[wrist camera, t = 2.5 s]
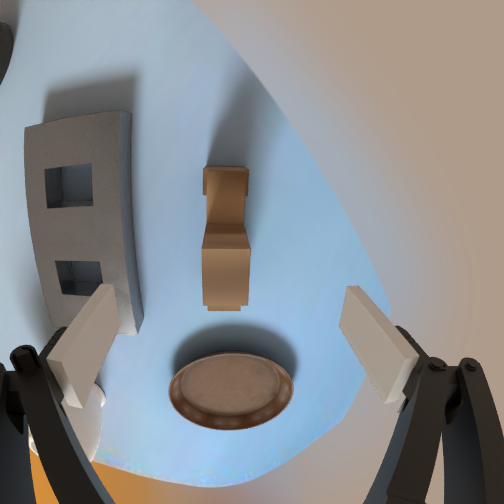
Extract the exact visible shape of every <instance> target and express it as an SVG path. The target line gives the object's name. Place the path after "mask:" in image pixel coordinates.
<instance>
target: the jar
mask: <svg viewBox="0 0 504 504" xmlns="http://www.w3.org/2000/svg"><path fill="white" fill-rule="evenodd" d="M105 401H106V398H105V395H104V393H103V391H102V390H101V388H100V387H99V386H98V385H96V384H95V383H94V384H93V387H92V389H91V391H90V394H89V396H88V398H87V401H86V403H85V406H84V408H83V409H82V408H77V407H73V406H69V405H68V403H67V401H66V399H65V397H64V398H63V400H62V402H61V404H62V405H63V407H64V409H65V412H66V414H67V417H68V419H69V421H70V423H71V426H72V428H73V430H74V432H75V434H76V436H77V438H78V440H79V442H80V444H81V446H82V448H83V450H84V452H85V454H86V456H87V458H88V460H89V462H91V461H92V459H93V458H94V456H95V454H96V451H97V449H98V446H99V442H100V437H101V425H102V417H103V414H102V406H103V405H104V404H105ZM29 447H30V448H31V450H33V452H34V453H35V454H37V455H38V452H37V449H36V446H35V443H34V440H33V437H32V434H31V433H30V434H29ZM38 456H39V455H38Z"/></svg>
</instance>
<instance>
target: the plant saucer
mask: <svg viewBox="0 0 504 504" xmlns="http://www.w3.org/2000/svg"><path fill="white" fill-rule="evenodd" d="M293 391H294V387H293V382H292V379H291V377H290V375H289V374H288V373H287V372H286V370H285V369H283V368H282V367H281V366H280V365H278V364H277V363H275V362H274V361H272V360H270V359H268V358H266V357H263V356H261V355H257V354H254V353H249V352H243V351H222V352H216V353H212V354H208V355H205V356H202V357H200V358H197V359H195V360H193V361H192V362H190V363H188V364H187V365H185V366H184V367H183V368H182V369H181V370H179V371H178V372H177V373H176V375H175V376H174V377H173V379H172V380H171V383H170V386H169V398H170V401H171V404H172V406H173V407H174V409H175V410H176V411H177V412H178V413H179V414H180V415H181V416H182V417H184V418H185V419H187V420H188V421H190V422H192V423H194V424H196V425H199V426H202V427H205V428H210V429H215V430H242V429H248V428H252V427H256V426H259V425H261V424H264V423H266V422H268V421H270V420H272V419H273V418H275V417H276V416H278V415H279V414H280V413H281V412H282V411H284V410H285V408H286V407H287V406H288V404H289V403H290V401H291V399H292V396H293Z"/></svg>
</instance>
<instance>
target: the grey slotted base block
mask: <svg viewBox="0 0 504 504" xmlns="http://www.w3.org/2000/svg"><path fill="white" fill-rule="evenodd" d="M131 124H132V114H131V113H128V112H126V111H123V110H115V111H107V112H100V113H93V114H87V115H81V116H75V117H70V118H64V119H60V120H55V121H50V122H46V123H41V124H37V125H33V126H29V127H26V128H25V132H24V166H25V186H26V198H27V208H28V217H29V224H30V231H31V237H32V243H33V249H34V254H35V259H36V264H37V269H38V273H39V277H40V281H41V285H42V289H43V293H44V297H45V300H46V304H47V307H48V311H49V314H50V317H51V320H52V323H53V326H54V327H60V328H62V327H63V326H65V327H69V325H70V324H71V322H72V321H73V320H74V318H75V317H76V316H77V314H78V313H79V312H80V310H81V309H82V308H83V306H84V305H85V304H86V302H87V301H88V300H89V299H90V297H91V296H92V295H93V293H94V292H95V291H96V290H97V288H98V287H99V286H100V285H101V284H113V287H114V293H115V299H116V304H117V309H118V314H119V319H120V324H121V327H120V329H119V331H118V333H117V334H125V335H138V332H139V330H140V327H141V324H142V322H143V319H144V316H143V310H142V304H141V297H140V290H139V282H138V274H137V265H136V255H135V245H134V233H133V218H132V198H131ZM90 163H92V192H93V200H82V201H66V202H63V197H62V182H61V167H63V166H72V165H81V164H90ZM71 261H96V262H100V267H101V274H102V279H103V282H88V281H74V276H73V271H72V266H71Z"/></svg>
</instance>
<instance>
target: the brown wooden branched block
mask: <svg viewBox="0 0 504 504" xmlns="http://www.w3.org/2000/svg"><path fill="white" fill-rule="evenodd" d="M248 177H249V169H248V168H246V167H239V166H205V167H204V168H203V195H207V222H206V228H205V234H204V239H203V244H202V288H203V305H208V311H240V307H241V306H248V296H249V276H250V255H251V248H250V245H249V241H248V237H247V234H246V230H245V227H244V204H245V196H248Z"/></svg>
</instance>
